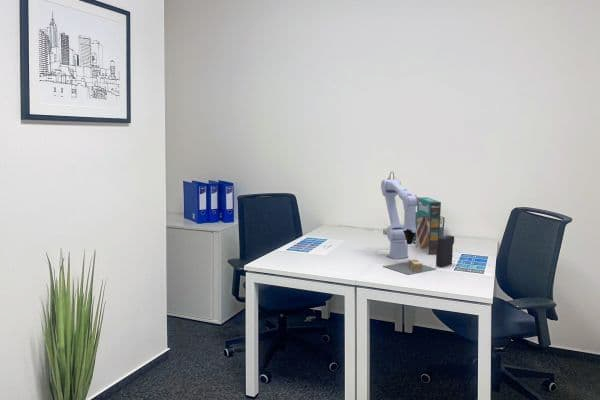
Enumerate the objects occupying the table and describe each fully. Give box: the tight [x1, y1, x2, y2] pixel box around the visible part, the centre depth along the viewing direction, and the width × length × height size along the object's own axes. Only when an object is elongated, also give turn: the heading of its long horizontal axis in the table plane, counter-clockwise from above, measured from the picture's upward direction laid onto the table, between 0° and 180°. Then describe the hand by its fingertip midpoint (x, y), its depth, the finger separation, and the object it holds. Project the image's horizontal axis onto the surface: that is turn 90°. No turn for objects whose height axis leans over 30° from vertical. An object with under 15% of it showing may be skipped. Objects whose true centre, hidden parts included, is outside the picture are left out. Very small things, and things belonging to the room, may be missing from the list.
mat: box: [382, 261, 437, 276], centre depth 265 cm, size 20×18×1 cm
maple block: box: [408, 259, 423, 273], centre depth 260 cm, size 4×4×8 cm
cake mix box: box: [415, 196, 442, 256], centre depth 303 cm, size 22×6×30 cm, turn 6°
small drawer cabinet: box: [435, 234, 455, 268], centre depth 270 cm, size 11×4×15 cm, turn 134°
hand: (409, 244), depth 272 cm, fingers closed
